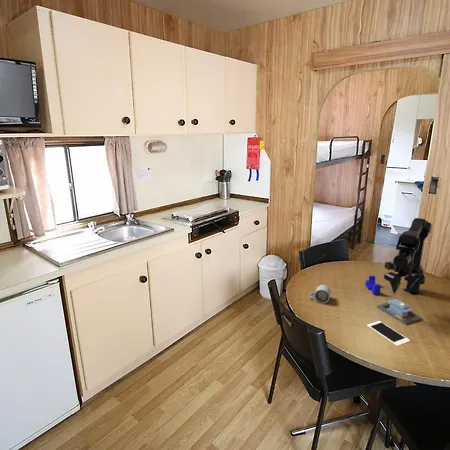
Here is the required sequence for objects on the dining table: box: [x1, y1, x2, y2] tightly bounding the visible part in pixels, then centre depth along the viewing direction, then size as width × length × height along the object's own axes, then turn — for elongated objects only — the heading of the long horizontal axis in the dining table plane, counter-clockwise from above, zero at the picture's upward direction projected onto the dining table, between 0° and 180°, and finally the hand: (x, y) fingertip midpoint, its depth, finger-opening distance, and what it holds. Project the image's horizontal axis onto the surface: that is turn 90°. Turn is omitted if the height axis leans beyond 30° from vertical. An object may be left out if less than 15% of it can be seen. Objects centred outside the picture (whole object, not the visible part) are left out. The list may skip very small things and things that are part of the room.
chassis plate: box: [376, 301, 422, 326], centre depth 154 cm, size 10×16×1 cm, turn 23°
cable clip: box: [364, 275, 382, 296], centre depth 176 cm, size 12×4×6 cm, turn 170°
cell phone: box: [367, 320, 411, 346], centre depth 140 cm, size 8×16×1 cm, turn 23°
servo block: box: [387, 298, 413, 319], centre depth 153 cm, size 4×10×6 cm, turn 23°
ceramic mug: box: [308, 284, 331, 304], centre depth 168 cm, size 11×8×8 cm
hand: (401, 291), depth 151 cm, fingers open, 9 cm apart
